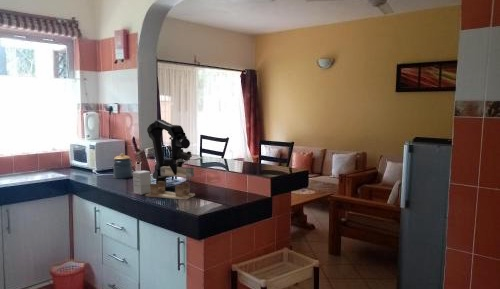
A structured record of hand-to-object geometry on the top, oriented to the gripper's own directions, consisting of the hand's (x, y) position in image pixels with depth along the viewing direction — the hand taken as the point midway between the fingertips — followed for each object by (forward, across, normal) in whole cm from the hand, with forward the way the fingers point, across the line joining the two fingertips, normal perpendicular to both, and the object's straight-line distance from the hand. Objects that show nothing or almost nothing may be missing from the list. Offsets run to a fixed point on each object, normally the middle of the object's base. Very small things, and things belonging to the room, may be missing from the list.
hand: (177, 174), depth 215 cm
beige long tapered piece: (+11, -8, 0) cm, 14 cm away
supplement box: (+11, -6, +20) cm, 24 cm away
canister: (+11, +34, +66) cm, 75 cm away
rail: (+1, 0, 0) cm, 1 cm away
